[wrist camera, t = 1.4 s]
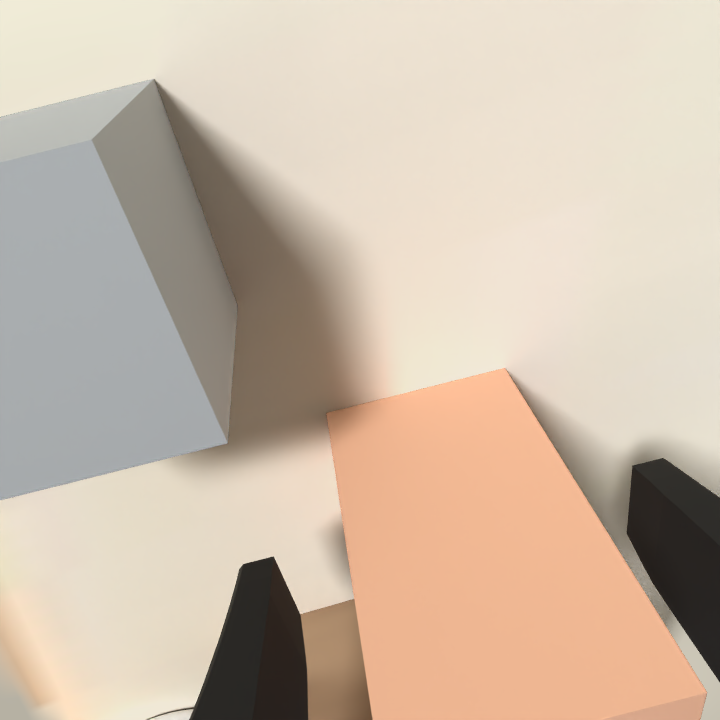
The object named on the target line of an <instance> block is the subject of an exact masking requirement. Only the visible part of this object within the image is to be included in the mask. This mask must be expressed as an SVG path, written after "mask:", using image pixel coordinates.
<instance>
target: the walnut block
mask: <svg viewBox="0 0 720 720" xmlns="http://www.w3.org/2000/svg"><path fill="white" fill-rule="evenodd" d="M300 615H301V622H302V629H303V637H304V645H305V654H306V663H307V681H308V720H373V719H372V712H371V706H370V699H369V693H368V686H367V679H366V673H365V666H364V659H363V653H362V646H361V640H360V633H359V626H358V620H357V613H356V606H355V600H354V599H353V600H349V601H346V602H342V603H339V604H335V605H332V606H328V607H325V608H321V609H318V610H314V611H311V612H307V613H304V614H300Z"/></svg>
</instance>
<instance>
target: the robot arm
mask: <svg viewBox="0 0 720 720" xmlns="http://www.w3.org/2000/svg"><path fill="white" fill-rule="evenodd" d="M627 535H628V536H629V538H630V540H631V542H632V544H633V546H634V548H635V550H636V552H637V554H638V556H639V558H640V560H641V562H642V564H643V566H644V568H645V569H646V571H647V573H648V575H649V577H650V579H651V581H652V582H653V584H654V585H655V587H656V589H657V590H658V592H659V593H660V595H661V596H662V598H663V599H664V601H665V602H666V604H667V605H668V607H669V608H670V610H671V611H672V613H673V614H674V615H675V617H676V618H677V620H678V621H679V623H680V624H681V626H682V627H683V629H684V630H685V632H686V633H687V635H688V636H689V638H690V639H691V641H692V642H693V644H694V645H695V646H696V648H697V649H698V651H699V652H700V654H701V655H702V657H703V658H704V660H705V661H706V663H707V664H708V666H709V667H710V669H711V670H712V671H713V673H714V674H715V676H716V677H717V679H718V680H719V682H720V498H719V497H718V496H717V495H715V494H714V493H712V492H711V491H709V490H708V489H707V488H705V487H704V486H702V485H701V484H699V483H698V482H697V481H695V480H694V479H692V478H691V477H690V476H688V475H687V474H685V473H684V472H683V471H681V470H680V469H678V468H677V467H675V466H674V465H673V464H671V463H670V462H668V461H667V460H665V459H664V458H661V459H657V460H653V461H650V462H646V463H642V464H638V465H634V466H633V467H632V478H631V490H630V502H629V513H628V525H627ZM189 720H308V681H307V663H306V654H305V645H304V637H303V629H302V622H301V615H300V613H299V611H298V609H297V606H296V604H295V602H294V600H293V598H292V596H291V593H290V591H289V589H288V587H287V585H286V582H285V580H284V578H283V576H282V574H281V572H280V569H279V567H278V565H277V563H276V561H275V559H274V557H270V558H266V559H262V560H258V561H254V562H250V563H246V564H243V565H242V567H241V568H240V569H239V573H238V577H237V581H236V585H235V588H234V592H233V596H232V599H231V603H230V606H229V609H228V613H227V616H226V619H225V622H224V625H223V629H222V632H221V635H220V638H219V641H218V644H217V647H216V650H215V652H214V655H213V658H212V661H211V664H210V667H209V670H208V672H207V675H206V678H205V681H204V684H203V686H202V689H201V692H200V694H199V697H198V699H197V702H196V704H195V707H194V709H193V712H192V714H191V716H190V719H189Z"/></svg>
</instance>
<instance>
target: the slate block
mask: <svg viewBox="0 0 720 720" xmlns="http://www.w3.org/2000/svg"><path fill="white" fill-rule="evenodd" d="M237 310H238V305H237V303H236V300H235V297H234V294H233V292H232V289H231V286H230V284H229V281H228V278H227V275H226V273H225V270H224V267H223V265H222V262H221V259H220V256H219V254H218V251H217V248H216V246H215V243H214V240H213V237H212V235H211V232H210V229H209V227H208V224H207V221H206V219H205V216H204V213H203V210H202V208H201V205H200V202H199V200H198V197H197V194H196V191H195V189H194V186H193V183H192V181H191V178H190V175H189V172H188V170H187V167H186V164H185V162H184V159H183V156H182V153H181V151H180V148H179V145H178V143H177V140H176V137H175V135H174V132H173V129H172V126H171V124H170V121H169V118H168V116H167V113H166V110H165V107H164V105H163V102H162V99H161V97H160V94H159V91H158V88H157V86H156V83H155V80H154V79H151V80H147V81H143V82H139V83H135V84H131V85H127V86H123V87H119V88H115V89H111V90H107V91H103V92H99V93H95V94H91V95H87V96H83V97H79V98H75V99H71V100H67V101H63V102H59V103H55V104H51V105H47V106H43V107H39V108H35V109H31V110H26V111H22V112H18V113H14V114H10V115H6V116H2V117H0V500H3V499H7V498H11V497H15V496H19V495H23V494H27V493H31V492H35V491H39V490H43V489H47V488H51V487H55V486H59V485H63V484H67V483H71V482H75V481H79V480H83V479H87V478H91V477H95V476H99V475H103V474H107V473H111V472H115V471H119V470H123V469H127V468H131V467H135V466H139V465H143V464H147V463H151V462H155V461H159V460H163V459H167V458H171V457H175V456H179V455H183V454H187V453H191V452H195V451H199V450H203V449H207V448H211V447H215V446H219V445H223V444H227V443H228V434H229V420H230V407H231V393H232V379H233V365H234V352H235V338H236V324H237Z"/></svg>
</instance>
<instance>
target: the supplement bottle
mask: <svg viewBox="0 0 720 720" xmlns="http://www.w3.org/2000/svg"><path fill="white" fill-rule="evenodd" d="M192 712H193V709H189V710H182V711H177V712H171V713H168V714H164V715H160V716H157V717H154V718H152V719H149V720H189V719H190V716H191V714H192Z"/></svg>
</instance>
